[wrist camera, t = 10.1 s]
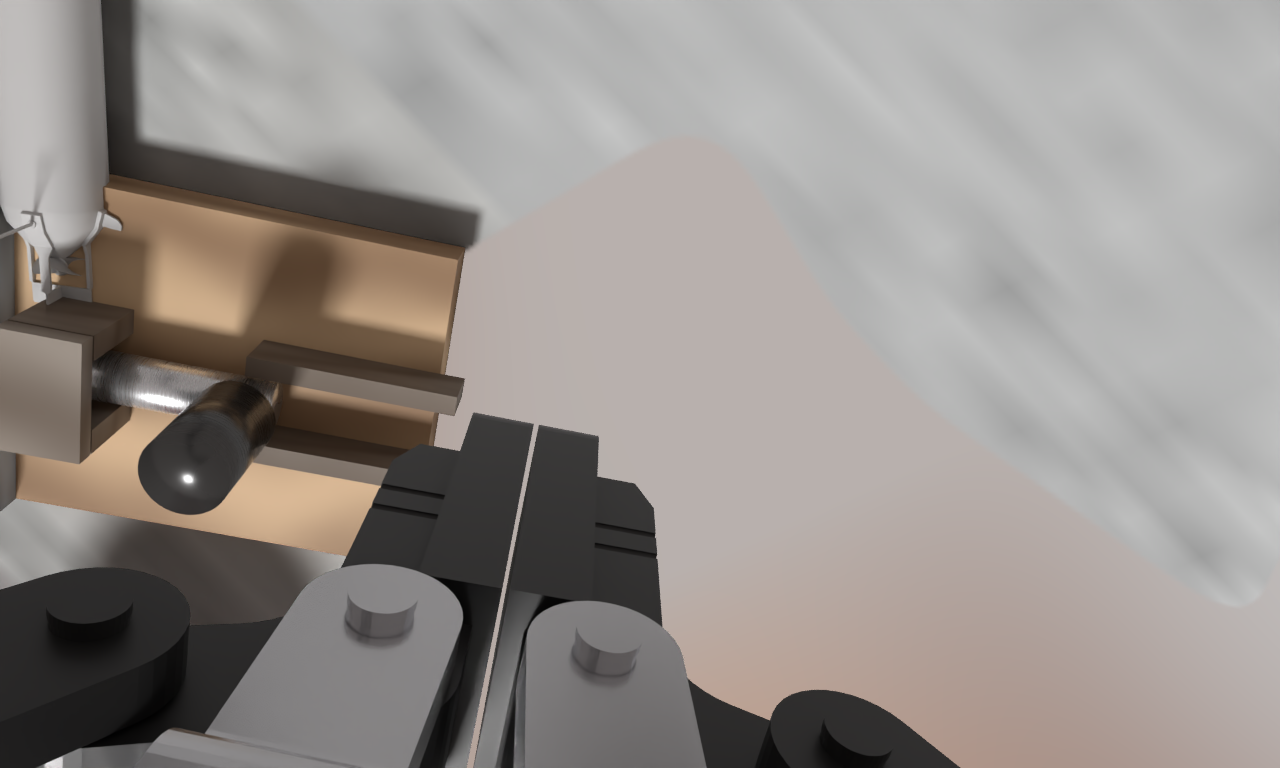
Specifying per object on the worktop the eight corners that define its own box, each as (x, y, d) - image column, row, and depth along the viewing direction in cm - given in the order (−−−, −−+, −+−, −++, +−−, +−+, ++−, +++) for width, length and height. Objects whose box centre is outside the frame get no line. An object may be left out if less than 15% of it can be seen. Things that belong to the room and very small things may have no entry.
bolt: (51, 318, 39) (-70, 387, 32) (298, 366, 39) (232, 443, 33) (50, 388, 40) (-67, 470, 33) (292, 433, 41) (226, 522, 34)
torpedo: (-18, -215, 34) (-158, -259, 28) (125, -192, 34) (18, -232, 28) (27, 293, 40) (-78, 347, 34) (147, 307, 41) (64, 363, 34)
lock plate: (-52, 140, 38) (-169, 166, 33) (489, 253, 40) (469, 295, 35) (-42, 461, 43) (-142, 532, 37) (440, 547, 45) (414, 626, 40)
